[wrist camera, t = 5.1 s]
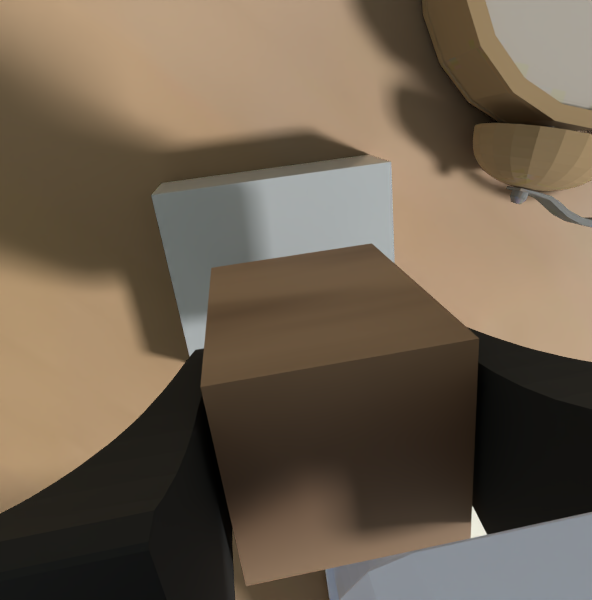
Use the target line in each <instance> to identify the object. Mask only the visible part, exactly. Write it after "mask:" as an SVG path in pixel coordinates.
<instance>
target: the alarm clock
mask: <svg viewBox="0 0 592 600" xmlns="http://www.w3.org/2000/svg"><path fill="white" fill-rule="evenodd" d="M422 9H423V16H424V19H425V22H426V25H427V28H428V31H429V34H430V37H431V40H432V43H433V46H434V49H435V51H436V54H437V57H438V60H439V63H440V65H441V66H442V68H443V69H444V70H445V72H446V73H447V74H448V76H449V77H450V78H451V80H452V81H453V82H454V84H455V85H456V86H457V88H458V89H459V91H460V92H461V93H462V95H463V96H464V97H465V99H466V100H467V101H468V102H469V103H470V104H472V105H473V106H475V107H477V108H478V109H480V110H481V111H483V112H484V113H486V114H487V115H489V116H490V117H492V118H493V119H495V120H497V121H498V122H500V123H482V124H478V125H475V128H474V134H473V151H474V156H475V158H476V160H477V162H478V164H479V165H480V166H481V168H482V169H483V170H484V171H485V172H486V173H488V174H489V175H490V176H492V177H494V178H495V179H497V180H499V181H501V182H503V183H505V184H508V185H511V186H514V187H509V186H507V188H506V189H509V190H512V192H511V195H510V198H511V202H513V203H517V204H522V203H523V202H524V201H525V200H526V199H527V197H528V195H529V196H531V197H534V198H535V199H536V200H538V201H539V202H540V203H541V204H542V205H543V206H544V207H545V208H546V209H547V210H548V211H549V212H551V213H552V214H553V215H555V216H557V217H559V218H560V219H562V220H564V221H567V222H571V223H575V224H579V225H583V226H588V227H592V218H582V217H580V216H578V215H577V214H575V213H573V212H571V211H569V210H568V209H567V208H566V207H565V206H564V205H563V204H562V203H560V202H559V201H558V200H556V199H555V198H553V197H552V196H549V195H546V194H542V193H539V192H535V191H555V190H564V189H569V188H573V187H577V186H580V185H583V184H585V183H587V182H589V181H591V180H592V134H588V133H583V132H577V131H578V130H592V0H422ZM531 190H535V191H531Z"/></svg>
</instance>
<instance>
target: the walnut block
mask: <svg viewBox="0 0 592 600" xmlns="http://www.w3.org/2000/svg"><path fill="white" fill-rule="evenodd" d="M478 355H479V338H478V337H477V336H476V335H475V334H474V333H472V332H471V331H470V330H469V329H468V328H467V327H466V326H465V325H463V324H462V323H461V322H460V321H459V320H458V319H457V318H456V317H454V316H453V315H452V314H451V313H450V312H449V311H448V310H446V309H445V308H444V307H443V306H442V305H441V304H440V303H439V302H437V301H436V300H435V299H434V298H433V297H432V296H431V295H430V294H428V293H427V292H426V291H425V290H424V289H423V288H422V287H420V286H419V285H418V284H417V283H416V282H415V281H414V280H413V279H411V278H410V277H409V276H408V275H407V274H406V273H405V272H404V271H402V270H401V269H400V268H399V267H398V266H397V265H396V264H395V263H393V262H392V261H391V260H390V259H389V258H388V257H387V256H385V255H384V254H383V253H382V252H381V251H380V250H379V249H378V248H376V247H375V246H374V245H373V244H372V243H371V244H364V245H357V246H351V247H344V248H338V249H331V250H325V251H318V252H312V253H305V254H298V255H292V256H285V257H279V258H272V259H266V260H259V261H253V262H246V263H239V264H233V265H226V266H220V267H213V268H211V276H210V287H209V298H208V309H207V320H206V331H205V342H204V353H203V364H202V375H201V386H200V387H201V392H202V396H203V400H204V405H205V409H206V414H207V418H208V422H209V427H210V431H211V435H212V440H213V444H214V449H215V453H216V457H217V462H218V466H219V470H220V475H221V479H222V484H223V488H224V492H225V497H226V501H227V505H228V510H229V514H230V519H231V523H232V527H233V532H234V536H235V540H236V545H237V549H238V554H239V558H240V562H241V567H242V571H243V575H244V580H245V584H246V586H250V585H255V584H260V583H264V582H269V581H274V580H278V579H283V578H288V577H292V576H297V575H302V574H306V573H311V572H316V571H321V570H325V569H330V568H335V567H339V566H344V565H349V564H353V563H358V562H363V561H368V560H372V559H377V558H382V557H386V556H391V555H396V554H400V553H405V552H410V551H414V550H419V549H424V548H428V547H433V546H438V545H442V544H447V543H451V542H456V541H460V540H465V539H470V538H471V519H472V495H473V472H474V448H475V425H476V402H477V378H478Z"/></svg>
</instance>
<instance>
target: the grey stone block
mask: <svg viewBox="0 0 592 600" xmlns="http://www.w3.org/2000/svg"><path fill="white" fill-rule="evenodd" d="M151 196H152V200H153V205H154V209H155V213H156V217H157V221H158V226H159V230H160V234H161V238H162V243H163V247H164V251H165V255H166V259H167V264H168V268H169V272H170V276H171V280H172V285H173V289H174V293H175V297H176V302H177V306H178V310H179V314H180V318H181V323H182V327H183V331H184V335H185V339H186V344H187V348H188V352H189V356H191V355H192V353H193V352H194V351H195V350H197V349H203V348H204V342H205V331H206V320H207V309H208V298H209V287H210V276H211V268H213V267H220V266H226V265H233V264H239V263H246V262H253V261H259V260H266V259H272V258H279V257H285V256H292V255H298V254H305V253H312V252H318V251H325V250H331V249H338V248H344V247H351V246H357V245H364V244H371V243H372V244H373V245H374V246H375V247H376V248H378V249H379V250H380V251H381V252H382V253H383V254H384V255H385V256H387V257H388V258H389V259H390V260H391V261H392V262H393V263H394V233H393V202H392V172H391V161H387V160H384V159H381V158H378V157H375V156H372V155H361V156H354V157H347V158H339V159H332V160H325V161H318V162H310V163H303V164H296V165H289V166H281V167H274V168H267V169H259V170H252V171H245V172H238V173H230V174H223V175H216V176H209V177H201V178H194V179H187V180H179V181H172V182H165V183H161V184H160V186H159V187H158V188H157V189H156V190H155V191H154V192H153V194H152V195H151Z"/></svg>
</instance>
